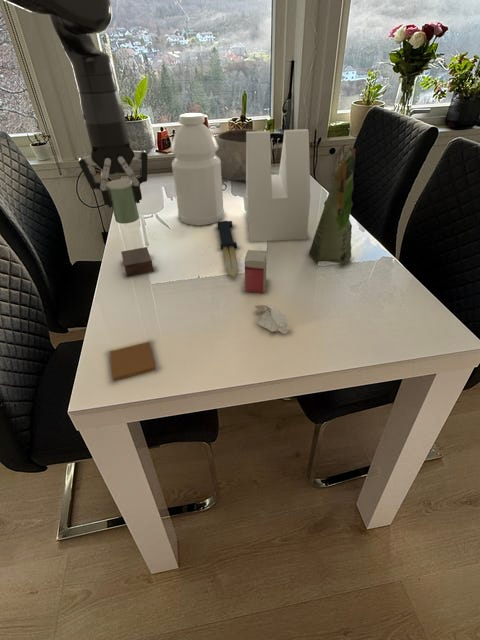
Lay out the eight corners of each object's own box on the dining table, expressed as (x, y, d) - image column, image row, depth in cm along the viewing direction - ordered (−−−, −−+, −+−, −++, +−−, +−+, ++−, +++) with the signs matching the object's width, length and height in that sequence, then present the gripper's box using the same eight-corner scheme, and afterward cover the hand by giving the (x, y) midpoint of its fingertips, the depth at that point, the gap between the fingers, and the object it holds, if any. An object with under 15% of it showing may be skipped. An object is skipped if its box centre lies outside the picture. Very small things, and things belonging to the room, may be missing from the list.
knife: (231, 220, 109) (243, 273, 85) (232, 225, 110) (243, 279, 86) (217, 221, 108) (225, 274, 85) (217, 226, 109) (225, 280, 86)
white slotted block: (246, 213, 116) (244, 124, 101) (296, 211, 116) (301, 122, 101) (250, 241, 101) (248, 141, 86) (306, 239, 101) (315, 138, 86)
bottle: (233, 215, 115) (228, 113, 98) (200, 230, 108) (189, 122, 90) (202, 204, 123) (193, 108, 106) (169, 218, 115) (153, 116, 98)
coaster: (113, 380, 62) (113, 378, 62) (110, 353, 68) (109, 351, 67) (155, 369, 64) (154, 366, 64) (149, 344, 69) (148, 341, 69)
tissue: (280, 308, 77) (280, 293, 74) (289, 333, 70) (290, 317, 68) (253, 311, 76) (253, 296, 74) (261, 337, 70) (261, 321, 68)
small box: (248, 280, 86) (247, 249, 81) (266, 281, 85) (267, 250, 80) (244, 292, 82) (243, 260, 77) (264, 293, 81) (264, 261, 76)
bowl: (219, 189, 135) (216, 144, 125) (207, 171, 152) (204, 130, 143) (280, 181, 139) (281, 137, 130) (261, 164, 156) (261, 125, 147)
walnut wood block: (127, 276, 89) (124, 265, 87) (123, 262, 94) (121, 251, 92) (153, 271, 90) (151, 260, 88) (149, 257, 96) (146, 246, 94)
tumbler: (115, 225, 82) (106, 188, 77) (113, 216, 86) (105, 181, 81) (141, 221, 83) (134, 185, 78) (138, 212, 87) (131, 177, 82)
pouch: (338, 243, 98) (352, 141, 83) (364, 264, 90) (385, 154, 74) (299, 251, 96) (307, 147, 80) (322, 273, 87) (336, 161, 71)
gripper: (139, 112, 77) (153, 194, 87) (65, 118, 73) (89, 203, 83) (144, 118, 71) (159, 205, 81) (65, 125, 67) (90, 215, 78)
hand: (123, 203), depth 82 cm, fingers closed on tumbler, 5 cm apart
